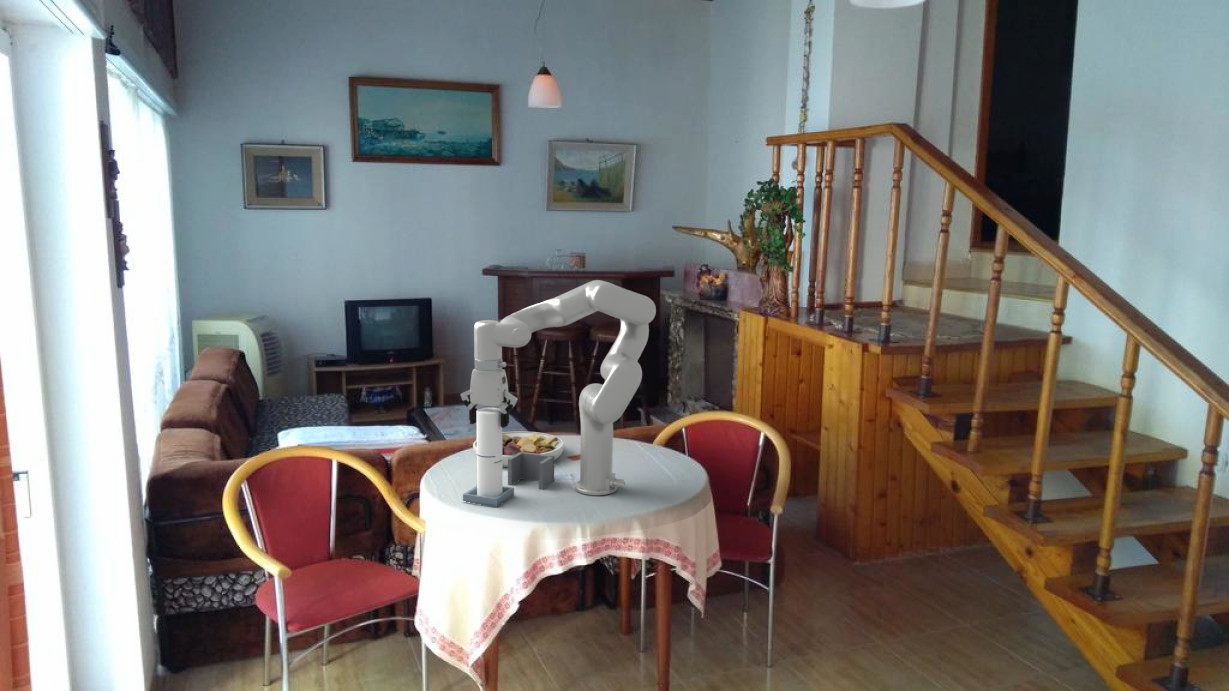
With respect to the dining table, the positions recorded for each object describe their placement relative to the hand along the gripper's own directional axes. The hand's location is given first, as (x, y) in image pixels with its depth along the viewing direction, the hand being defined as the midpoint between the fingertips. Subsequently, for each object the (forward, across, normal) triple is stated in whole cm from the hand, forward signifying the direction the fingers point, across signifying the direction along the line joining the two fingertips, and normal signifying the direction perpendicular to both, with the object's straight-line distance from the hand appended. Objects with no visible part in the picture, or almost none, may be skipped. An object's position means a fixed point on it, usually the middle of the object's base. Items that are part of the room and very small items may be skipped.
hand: (489, 424), depth 235 cm
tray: (+22, 0, 0) cm, 22 cm away
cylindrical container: (+21, 0, 0) cm, 21 cm away
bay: (+22, -5, -17) cm, 28 cm away
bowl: (+22, +11, -41) cm, 48 cm away
